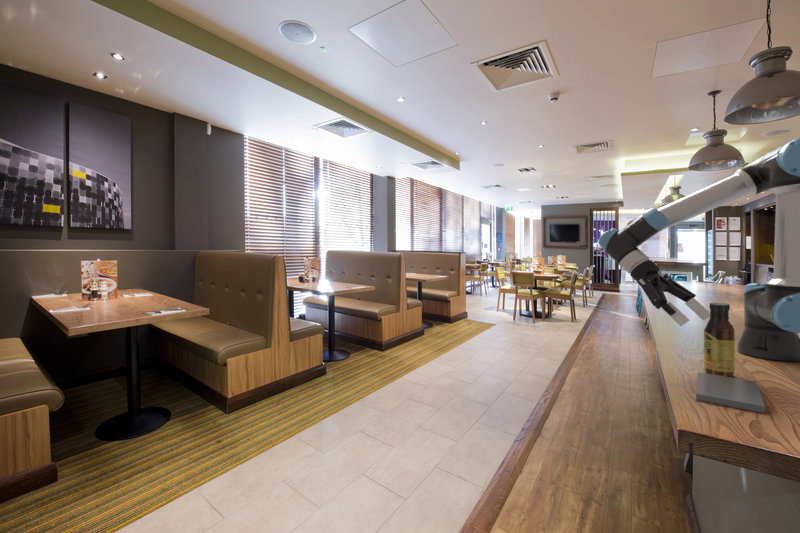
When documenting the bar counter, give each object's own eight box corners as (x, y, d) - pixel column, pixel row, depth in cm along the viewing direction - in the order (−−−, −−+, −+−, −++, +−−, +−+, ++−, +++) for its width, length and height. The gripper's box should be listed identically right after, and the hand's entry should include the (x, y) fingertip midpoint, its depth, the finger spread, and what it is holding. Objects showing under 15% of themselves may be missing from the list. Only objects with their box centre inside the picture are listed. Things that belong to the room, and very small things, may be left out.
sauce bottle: (703, 369, 100) (703, 301, 99) (733, 373, 96) (733, 302, 95) (704, 375, 95) (704, 303, 94) (736, 380, 91) (736, 305, 90)
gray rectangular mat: (697, 377, 93) (697, 372, 93) (756, 387, 86) (756, 381, 86) (696, 400, 80) (696, 393, 80) (764, 413, 73) (764, 406, 72)
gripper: (651, 273, 119) (705, 322, 107) (608, 277, 108) (663, 333, 95) (669, 257, 115) (728, 307, 102) (626, 260, 103) (686, 317, 90)
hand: (697, 320), depth 98 cm, fingers open, 13 cm apart
